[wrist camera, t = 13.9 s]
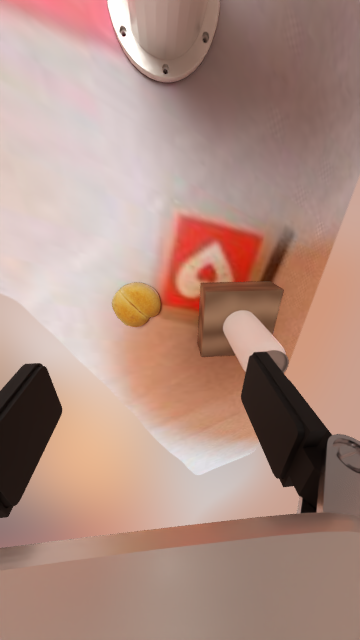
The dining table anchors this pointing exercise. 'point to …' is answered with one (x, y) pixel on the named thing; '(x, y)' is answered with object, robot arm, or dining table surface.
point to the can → (252, 339)
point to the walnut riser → (227, 300)
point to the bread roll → (136, 304)
